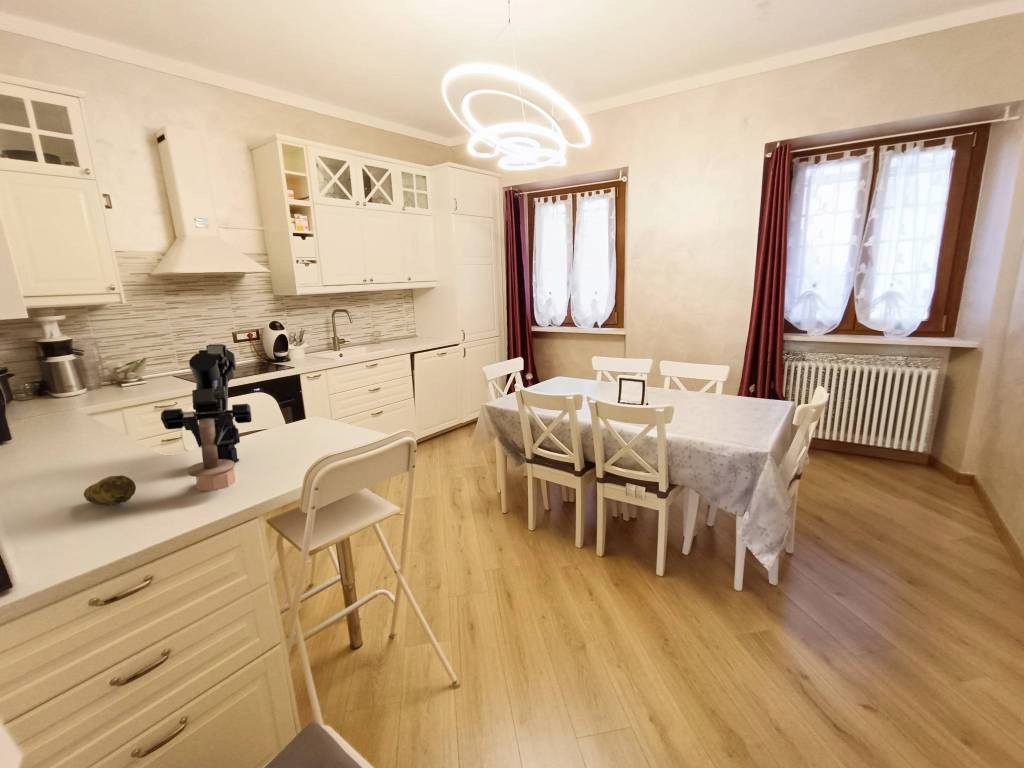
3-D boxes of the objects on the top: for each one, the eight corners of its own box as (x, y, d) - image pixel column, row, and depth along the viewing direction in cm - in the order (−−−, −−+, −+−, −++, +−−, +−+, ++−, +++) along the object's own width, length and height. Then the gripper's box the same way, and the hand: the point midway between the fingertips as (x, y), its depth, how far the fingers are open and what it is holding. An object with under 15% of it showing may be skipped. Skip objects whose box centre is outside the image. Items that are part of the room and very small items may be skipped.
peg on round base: (177, 476, 108) (171, 425, 105) (203, 461, 118) (198, 414, 115) (219, 477, 108) (214, 426, 106) (242, 461, 118) (238, 415, 116)
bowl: (191, 490, 115) (189, 477, 115) (210, 478, 123) (209, 466, 122) (222, 490, 116) (221, 478, 115) (240, 478, 123) (239, 466, 123)
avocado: (128, 492, 113) (124, 462, 112) (141, 508, 105) (137, 476, 104) (83, 503, 107) (78, 472, 105) (94, 521, 99) (88, 487, 97)
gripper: (157, 377, 108) (152, 434, 100) (247, 373, 116) (248, 425, 109) (168, 401, 116) (164, 456, 109) (251, 396, 124) (252, 446, 117)
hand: (208, 445), depth 111 cm, fingers closed on peg on round base, 3 cm apart
